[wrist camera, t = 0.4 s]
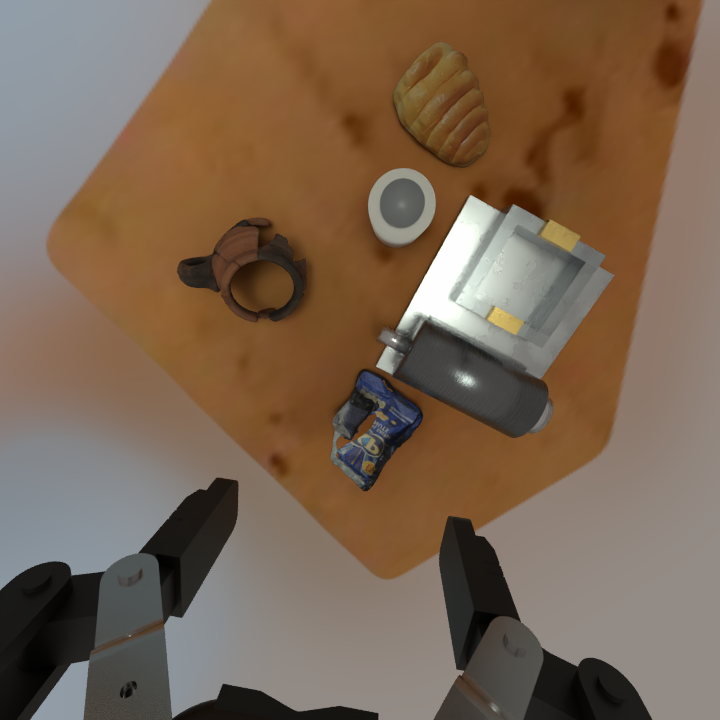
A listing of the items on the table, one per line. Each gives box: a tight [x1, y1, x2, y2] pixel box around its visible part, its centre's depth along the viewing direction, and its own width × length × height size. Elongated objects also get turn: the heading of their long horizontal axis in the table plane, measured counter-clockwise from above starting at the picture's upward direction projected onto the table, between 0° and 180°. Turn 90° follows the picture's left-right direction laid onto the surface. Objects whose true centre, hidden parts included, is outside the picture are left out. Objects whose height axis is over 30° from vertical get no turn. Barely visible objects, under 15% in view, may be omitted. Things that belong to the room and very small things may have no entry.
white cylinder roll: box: [368, 168, 436, 248], centre depth 29 cm, size 5×5×10 cm
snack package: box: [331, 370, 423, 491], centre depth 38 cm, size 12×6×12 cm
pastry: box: [393, 42, 490, 167], centre depth 30 cm, size 9×7×4 cm
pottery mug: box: [177, 218, 307, 322], centre depth 34 cm, size 12×10×8 cm
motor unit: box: [376, 195, 614, 438], centre depth 32 cm, size 19×18×7 cm
